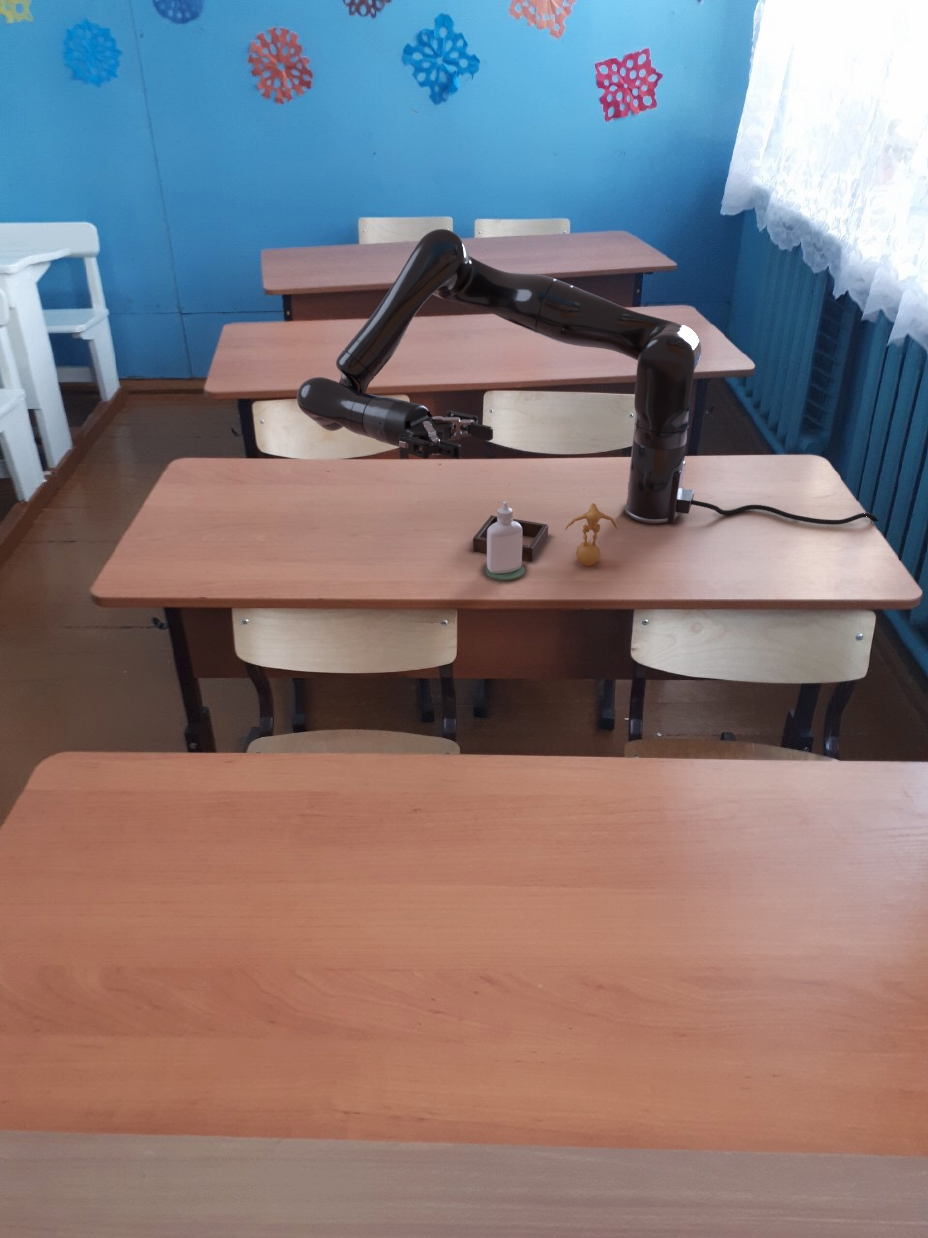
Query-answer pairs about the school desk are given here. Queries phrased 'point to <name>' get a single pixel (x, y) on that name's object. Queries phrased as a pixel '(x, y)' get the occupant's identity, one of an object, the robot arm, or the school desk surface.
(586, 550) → the figurine
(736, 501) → the school desk surface
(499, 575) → the coaster
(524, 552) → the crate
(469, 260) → the robot arm
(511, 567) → the eye dropper bottle
